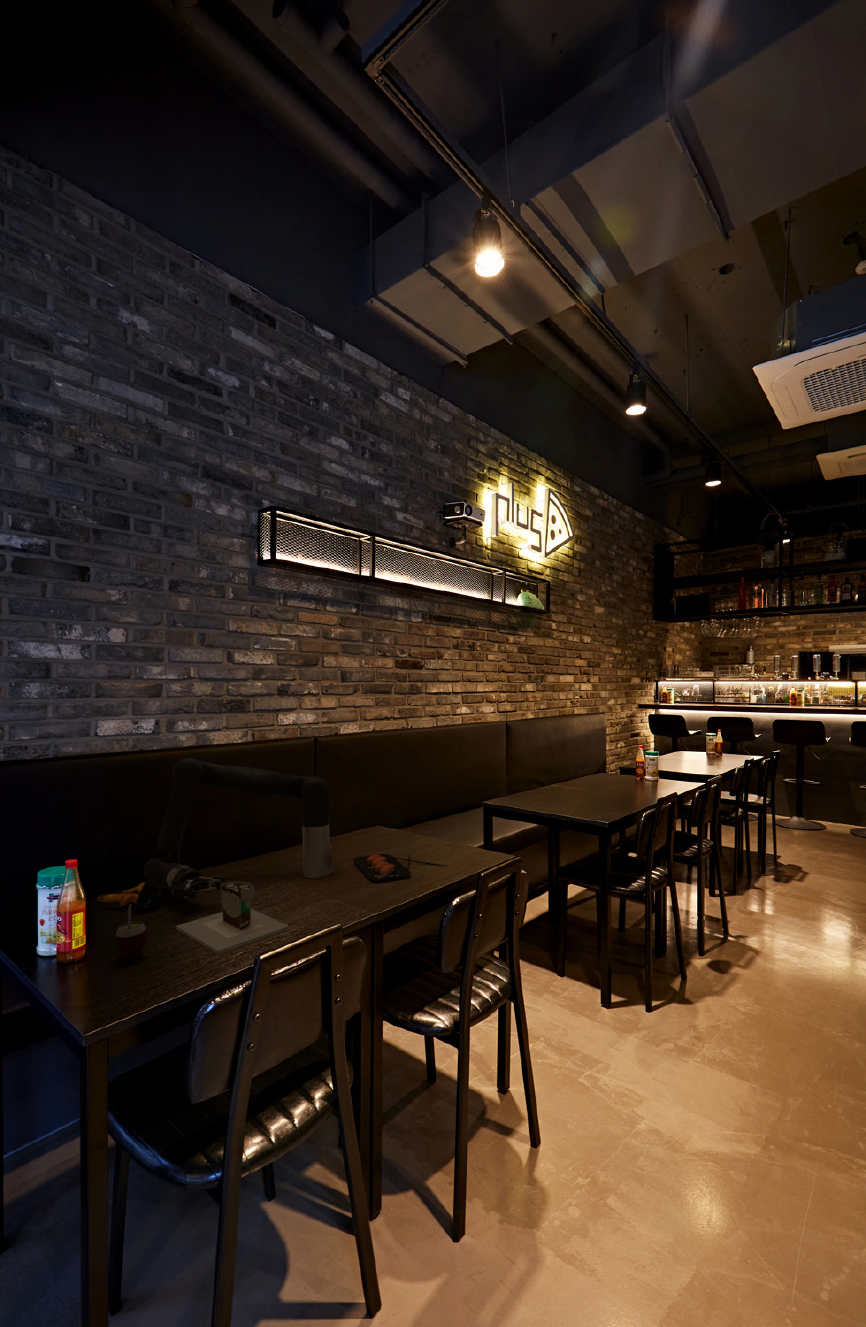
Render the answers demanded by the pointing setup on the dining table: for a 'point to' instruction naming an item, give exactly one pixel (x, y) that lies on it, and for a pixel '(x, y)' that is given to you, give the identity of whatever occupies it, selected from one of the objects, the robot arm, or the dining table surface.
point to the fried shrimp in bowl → (136, 897)
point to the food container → (237, 903)
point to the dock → (230, 931)
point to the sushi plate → (384, 866)
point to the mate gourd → (130, 939)
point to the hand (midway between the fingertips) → (209, 891)
